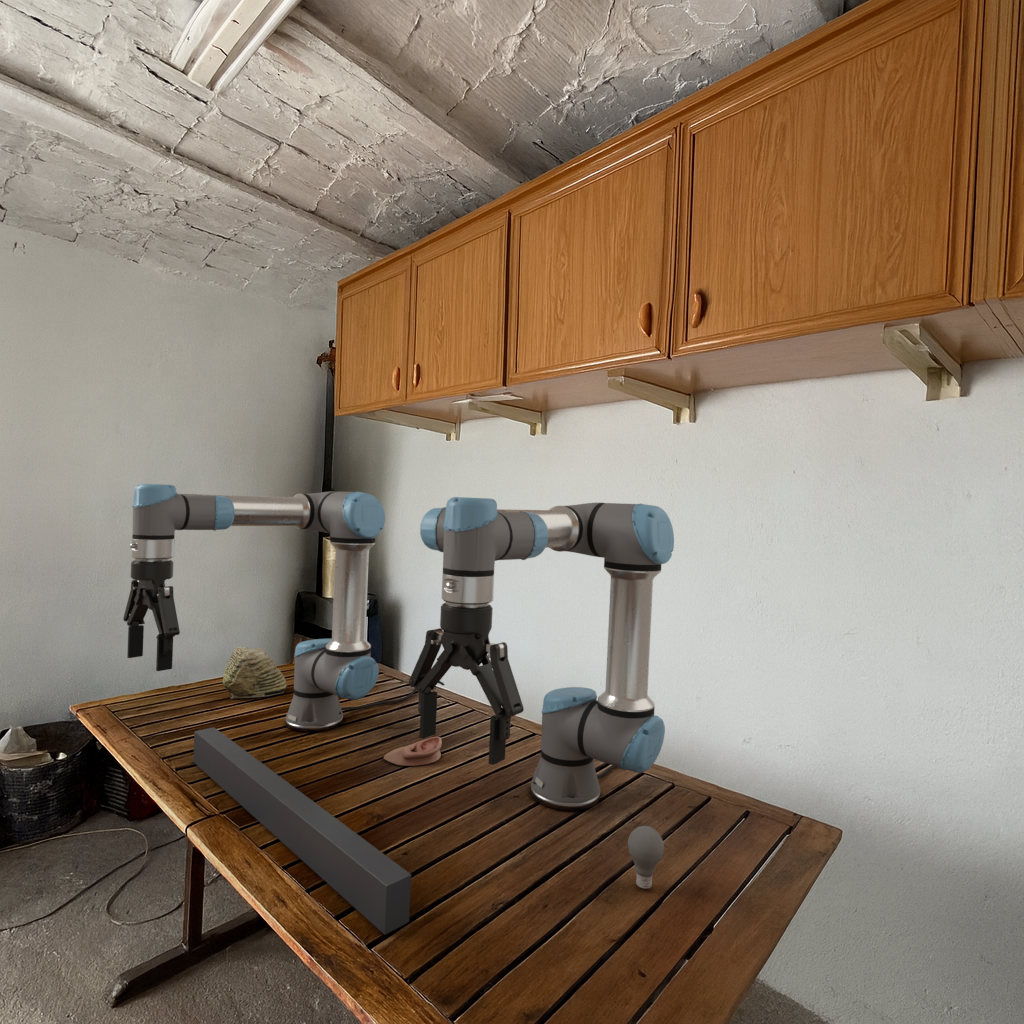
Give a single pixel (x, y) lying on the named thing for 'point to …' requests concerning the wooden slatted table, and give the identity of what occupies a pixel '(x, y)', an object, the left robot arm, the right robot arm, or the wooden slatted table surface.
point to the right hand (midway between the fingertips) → (460, 748)
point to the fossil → (252, 674)
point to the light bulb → (645, 853)
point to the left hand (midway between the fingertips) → (149, 663)
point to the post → (309, 832)
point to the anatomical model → (416, 753)
